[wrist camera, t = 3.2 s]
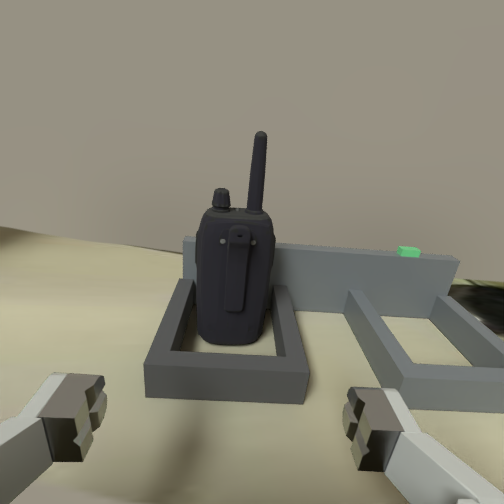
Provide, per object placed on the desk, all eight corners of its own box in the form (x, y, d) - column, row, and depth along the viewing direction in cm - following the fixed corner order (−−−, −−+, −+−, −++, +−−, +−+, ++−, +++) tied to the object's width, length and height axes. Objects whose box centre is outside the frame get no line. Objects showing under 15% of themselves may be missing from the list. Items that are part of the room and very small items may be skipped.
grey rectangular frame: (145, 397, 18) (143, 364, 17) (179, 303, 27) (179, 278, 26) (302, 404, 18) (309, 372, 17) (283, 309, 28) (286, 285, 27)
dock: (150, 397, 18) (145, 301, 15) (185, 296, 28) (185, 229, 26) (536, 414, 19) (590, 328, 17) (433, 311, 30) (457, 249, 27)
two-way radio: (261, 321, 26) (283, 132, 20) (269, 359, 22) (300, 135, 16) (195, 321, 25) (198, 125, 19) (190, 359, 21) (193, 125, 15)
